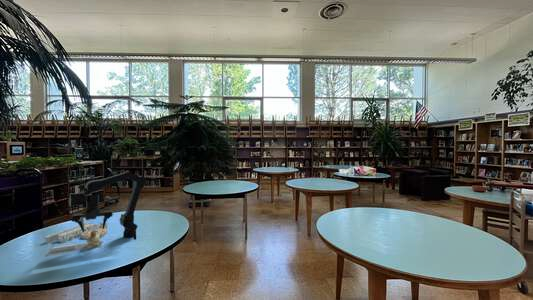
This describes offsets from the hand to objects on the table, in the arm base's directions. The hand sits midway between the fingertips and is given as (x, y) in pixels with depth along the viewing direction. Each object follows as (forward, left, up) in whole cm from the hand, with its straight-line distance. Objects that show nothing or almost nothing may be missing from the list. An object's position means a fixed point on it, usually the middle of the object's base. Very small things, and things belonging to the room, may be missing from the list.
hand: (93, 230), depth 138 cm
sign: (+7, -24, -11) cm, 28 cm away
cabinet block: (0, 0, -9) cm, 9 cm away
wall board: (+8, 0, -10) cm, 13 cm away
